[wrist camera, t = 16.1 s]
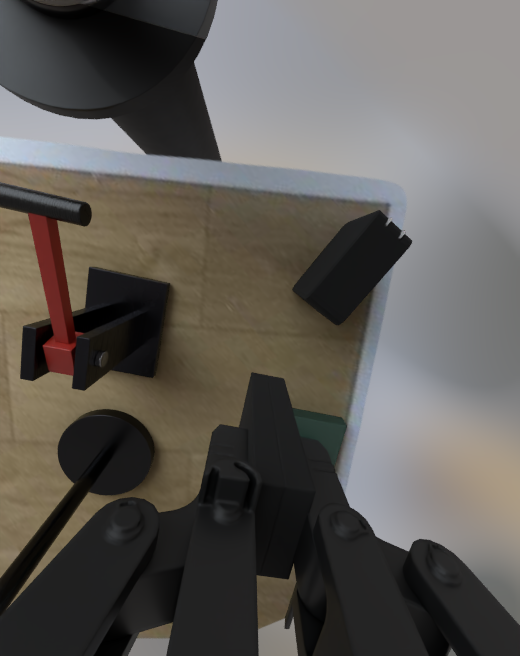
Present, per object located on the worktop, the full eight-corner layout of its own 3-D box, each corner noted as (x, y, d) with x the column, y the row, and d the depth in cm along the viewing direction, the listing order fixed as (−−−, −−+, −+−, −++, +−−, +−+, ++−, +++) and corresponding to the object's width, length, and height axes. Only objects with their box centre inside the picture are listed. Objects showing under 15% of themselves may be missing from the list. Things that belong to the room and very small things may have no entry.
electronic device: (290, 289, 36) (305, 299, 26) (345, 222, 35) (382, 207, 25) (316, 310, 37) (339, 327, 27) (370, 245, 35) (416, 240, 26)
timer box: (270, 403, 40) (273, 419, 36) (342, 417, 40) (351, 434, 36) (251, 479, 42) (252, 501, 38) (319, 490, 43) (326, 513, 39)
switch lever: (5, 177, 19) (-27, 183, 17) (94, 198, 19) (73, 206, 17) (46, 349, 26) (27, 367, 24) (109, 361, 27) (95, 380, 25)
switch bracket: (94, 266, 35) (-4, 270, 21) (170, 283, 36) (122, 296, 22) (84, 360, 37) (-9, 417, 24) (156, 374, 38) (104, 436, 25)
